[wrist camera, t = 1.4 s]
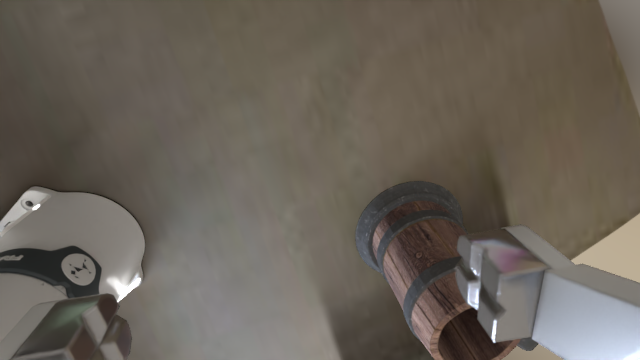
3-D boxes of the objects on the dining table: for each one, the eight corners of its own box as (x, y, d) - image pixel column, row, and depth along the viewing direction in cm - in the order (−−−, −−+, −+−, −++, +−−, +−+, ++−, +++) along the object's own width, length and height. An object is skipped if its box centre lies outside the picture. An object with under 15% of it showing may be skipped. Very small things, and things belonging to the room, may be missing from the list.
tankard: (335, 255, 53) (366, 373, 35) (394, 162, 48) (466, 244, 30) (452, 300, 60) (529, 419, 41) (515, 223, 55) (634, 320, 36)
